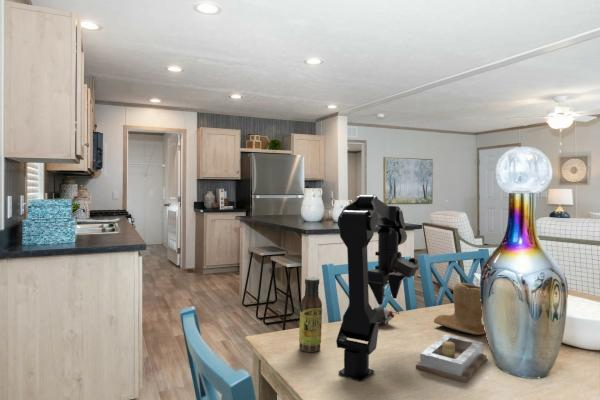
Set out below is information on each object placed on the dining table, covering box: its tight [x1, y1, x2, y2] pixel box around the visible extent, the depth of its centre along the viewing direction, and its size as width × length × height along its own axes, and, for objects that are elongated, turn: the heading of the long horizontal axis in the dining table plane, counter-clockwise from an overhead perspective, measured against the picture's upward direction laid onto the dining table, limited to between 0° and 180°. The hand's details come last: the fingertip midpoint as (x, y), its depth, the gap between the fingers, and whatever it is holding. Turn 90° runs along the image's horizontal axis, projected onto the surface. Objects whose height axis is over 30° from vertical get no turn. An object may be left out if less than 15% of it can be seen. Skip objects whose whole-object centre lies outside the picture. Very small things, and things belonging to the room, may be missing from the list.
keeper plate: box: [415, 341, 488, 384], centre depth 104 cm, size 18×12×6 cm, turn 141°
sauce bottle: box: [298, 276, 323, 353], centre depth 113 cm, size 6×6×20 cm
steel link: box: [419, 333, 484, 377], centre depth 104 cm, size 18×10×3 cm, turn 141°
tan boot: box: [433, 282, 486, 336], centre depth 130 cm, size 15×12×15 cm
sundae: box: [374, 304, 400, 326], centre depth 135 cm, size 7×7×15 cm
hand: (387, 301), depth 119 cm, fingers open, 9 cm apart
